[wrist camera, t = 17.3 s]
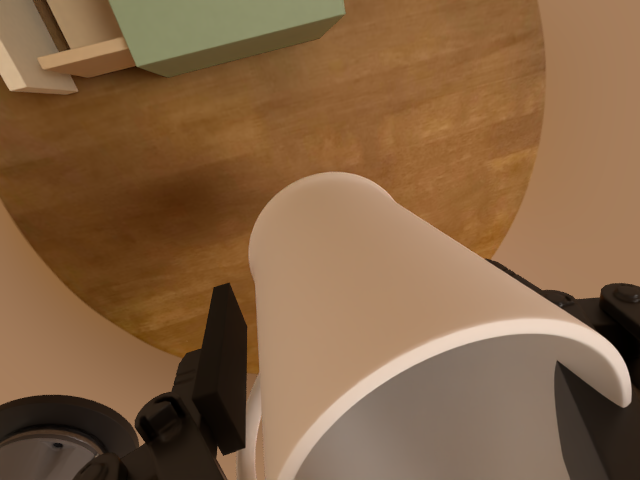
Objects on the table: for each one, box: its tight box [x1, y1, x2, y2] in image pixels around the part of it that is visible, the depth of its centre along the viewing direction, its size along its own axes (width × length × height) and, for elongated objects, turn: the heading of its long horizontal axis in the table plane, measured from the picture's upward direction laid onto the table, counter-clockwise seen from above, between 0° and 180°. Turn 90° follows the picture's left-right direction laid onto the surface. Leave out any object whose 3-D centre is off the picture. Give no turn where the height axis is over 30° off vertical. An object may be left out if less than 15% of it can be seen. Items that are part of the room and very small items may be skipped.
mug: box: [236, 172, 632, 480], centre depth 12 cm, size 12×8×12 cm
